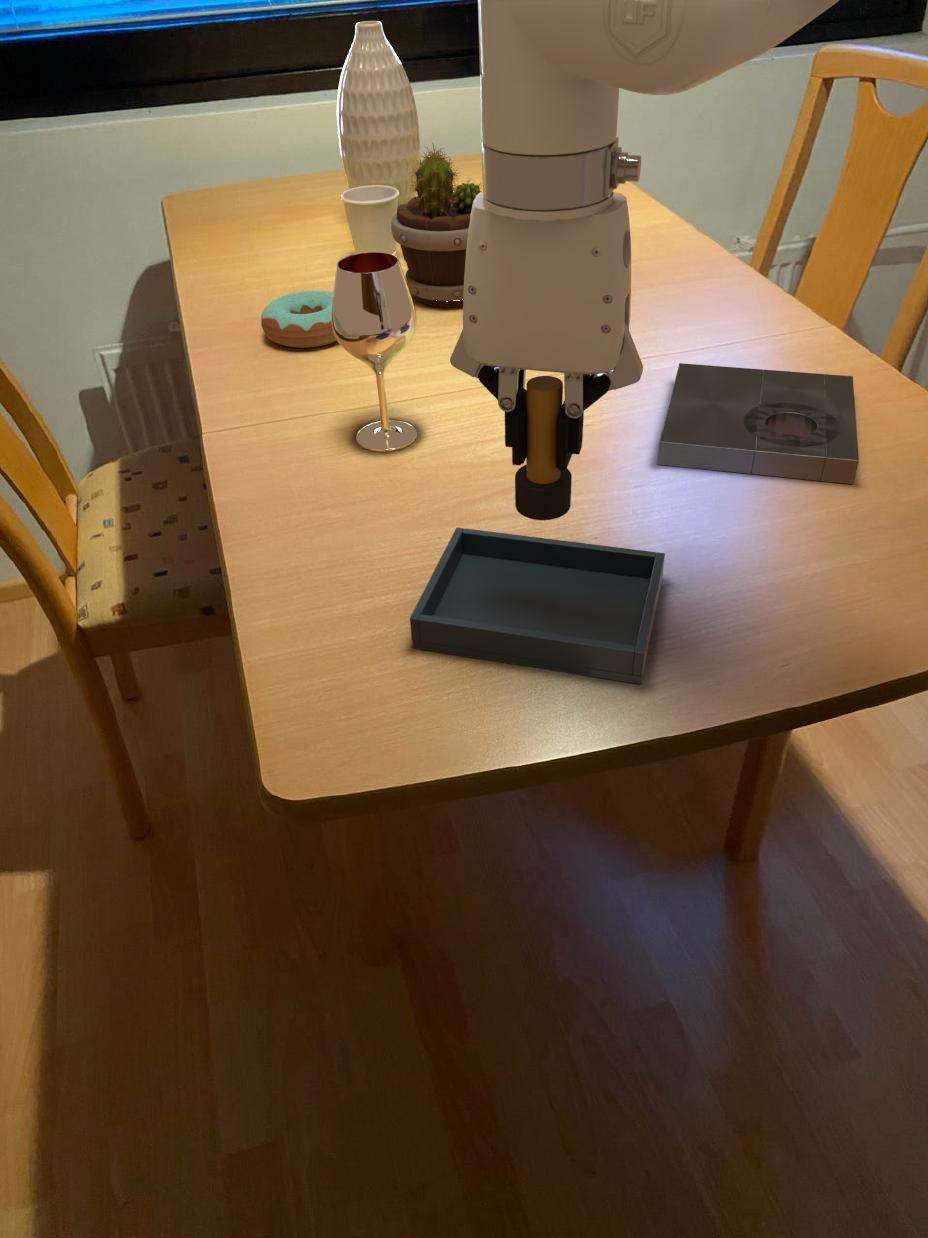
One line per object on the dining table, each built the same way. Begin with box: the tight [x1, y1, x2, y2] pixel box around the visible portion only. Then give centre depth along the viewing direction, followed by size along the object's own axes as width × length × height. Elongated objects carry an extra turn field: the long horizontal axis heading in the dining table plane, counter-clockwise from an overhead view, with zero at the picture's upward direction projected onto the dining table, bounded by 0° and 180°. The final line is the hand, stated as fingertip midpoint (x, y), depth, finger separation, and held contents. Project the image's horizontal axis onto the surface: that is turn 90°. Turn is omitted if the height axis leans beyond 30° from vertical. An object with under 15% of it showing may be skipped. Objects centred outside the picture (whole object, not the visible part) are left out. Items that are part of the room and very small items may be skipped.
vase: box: [336, 20, 421, 207], centre depth 145 cm, size 13×13×28 cm
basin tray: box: [409, 527, 666, 685], centre depth 73 cm, size 17×12×3 cm
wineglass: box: [331, 252, 418, 453], centre depth 91 cm, size 8×8×18 cm
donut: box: [260, 290, 338, 349], centre depth 118 cm, size 12×12×4 cm
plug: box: [514, 375, 573, 521], centre depth 64 cm, size 4×4×10 cm
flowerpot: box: [391, 141, 483, 308], centre depth 121 cm, size 14×15×20 cm
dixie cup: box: [340, 185, 399, 254], centre depth 135 cm, size 8×8×10 cm
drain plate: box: [656, 362, 860, 485], centre depth 94 cm, size 18×18×2 cm
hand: (543, 456), depth 65 cm, fingers closed on plug, 2 cm apart
